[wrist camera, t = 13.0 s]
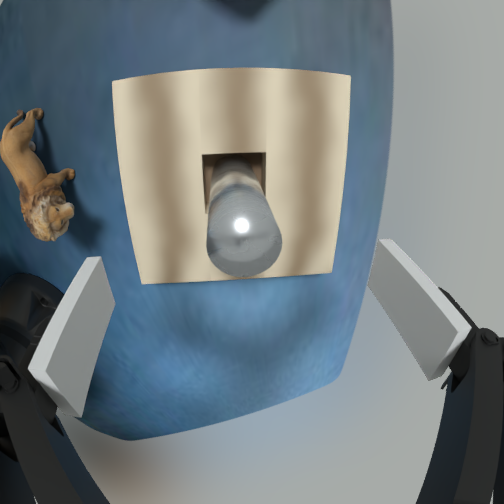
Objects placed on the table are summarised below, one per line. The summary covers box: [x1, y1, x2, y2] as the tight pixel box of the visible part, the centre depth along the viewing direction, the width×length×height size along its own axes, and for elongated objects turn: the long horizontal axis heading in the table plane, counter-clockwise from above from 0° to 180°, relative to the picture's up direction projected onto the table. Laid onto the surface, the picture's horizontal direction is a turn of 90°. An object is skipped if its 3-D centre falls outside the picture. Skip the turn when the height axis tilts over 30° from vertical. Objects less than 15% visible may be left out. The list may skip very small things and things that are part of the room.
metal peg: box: [206, 155, 282, 277], centre depth 22 cm, size 4×4×14 cm
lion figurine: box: [0, 108, 75, 241], centre depth 21 cm, size 15×5×9 cm, turn 31°
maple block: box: [112, 68, 351, 284], centre depth 27 cm, size 20×20×4 cm
